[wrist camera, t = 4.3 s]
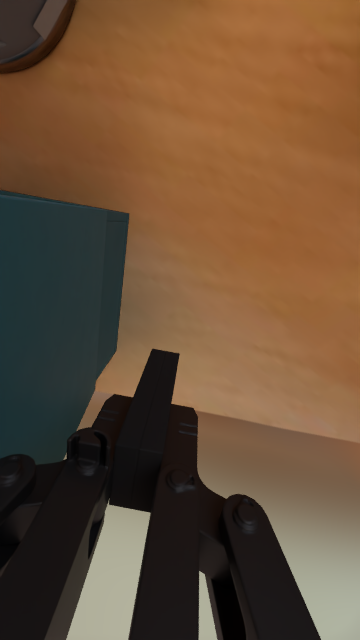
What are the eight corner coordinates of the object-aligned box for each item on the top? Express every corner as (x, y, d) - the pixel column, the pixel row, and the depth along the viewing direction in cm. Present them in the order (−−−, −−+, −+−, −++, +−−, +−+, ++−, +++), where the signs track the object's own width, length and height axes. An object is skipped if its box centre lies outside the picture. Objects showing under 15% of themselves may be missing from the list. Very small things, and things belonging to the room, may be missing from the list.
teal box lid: (-22, 602, 11) (-2, 602, 11) (-99, 180, 5) (-57, 187, 5) (86, 388, 24) (95, 389, 24) (96, 208, 19) (107, 210, 19)
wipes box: (6, 330, 32) (-48, 359, 25) (-4, 189, 26) (-76, 176, 19) (116, 351, 32) (92, 386, 25) (129, 213, 26) (104, 209, 19)
